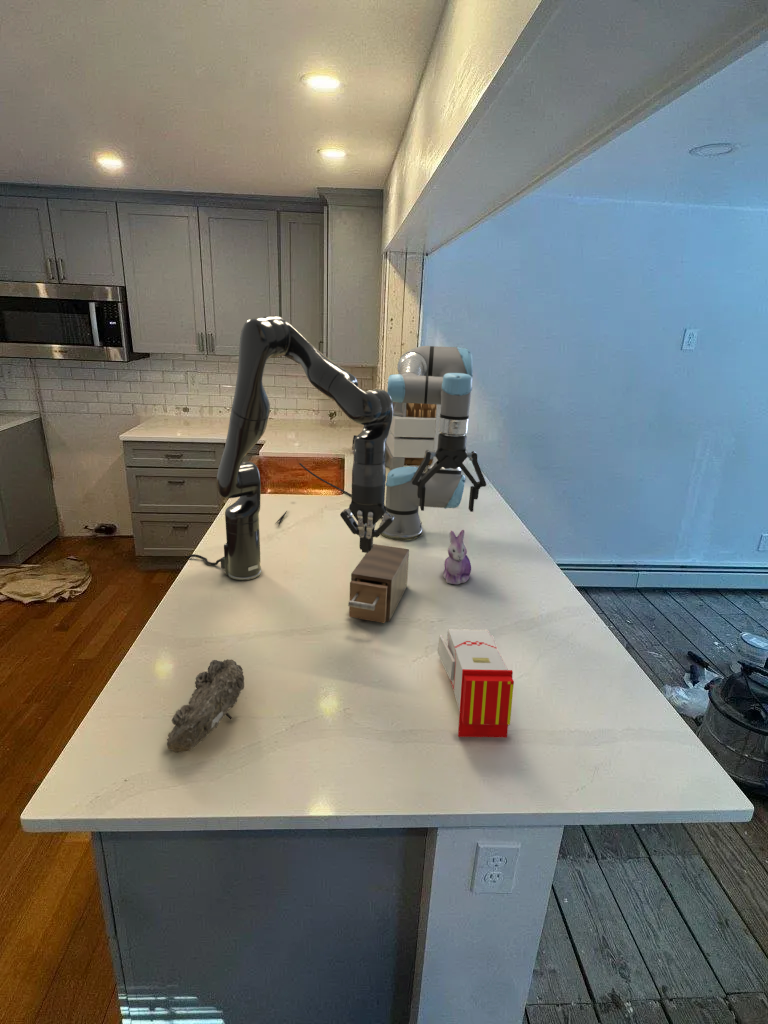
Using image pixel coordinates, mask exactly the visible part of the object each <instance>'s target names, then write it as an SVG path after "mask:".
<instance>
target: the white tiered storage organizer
mask: <svg viewBox="0 0 768 1024" xmlns="http://www.w3.org/2000/svg"><path fill="white" fill-rule="evenodd" d="M393 409H394V410H393V418H392V423H391V426H390V430H389V434H388V437H387V440H386V452H385V467H388V468H389V472H390V471H391V470H393V469H395V468H399V467H405V466H406V467H407V466H412V467H419V466H420V464H421V462H422V461H423V459H424V456H425V451H426V450H429V451H431V452H433V447H434V432H435V418H436V404H421V403H398V402H393ZM432 462H433V459H432V460H430V461H429V463H428V465H427V467H429V466H430V465H431V464H432ZM460 469H461V468H460ZM461 470H462V469H461Z"/></svg>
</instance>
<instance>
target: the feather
mask: <svg viewBox="0 0 768 1024" xmlns="http://www.w3.org/2000/svg"><path fill="white" fill-rule="evenodd" d="M287 512H288V510H286V511H285V512H284V513H283V514H282V515H281V517H280V518H278V520H277V521H276V522H275V523H274V524H276V523H277V524H278V526H277V527H278V528H279V527H280V525H281V524H282V522H283V519H284V518H285V516H286V514H287Z"/></svg>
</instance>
